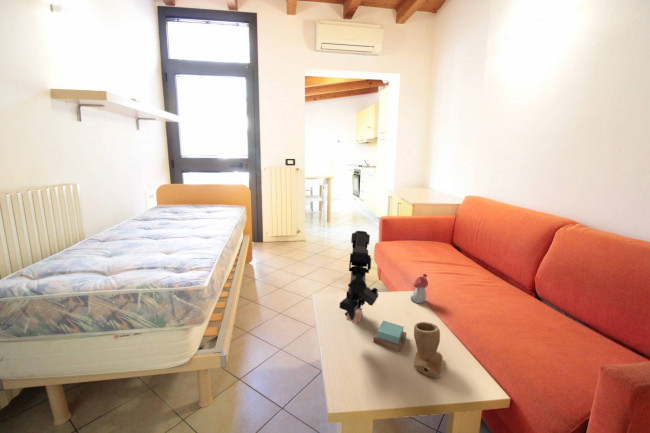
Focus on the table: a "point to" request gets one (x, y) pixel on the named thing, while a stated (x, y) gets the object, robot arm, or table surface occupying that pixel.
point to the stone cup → (427, 349)
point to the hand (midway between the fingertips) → (354, 316)
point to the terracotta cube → (356, 316)
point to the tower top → (390, 332)
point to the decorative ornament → (420, 289)
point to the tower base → (390, 344)
